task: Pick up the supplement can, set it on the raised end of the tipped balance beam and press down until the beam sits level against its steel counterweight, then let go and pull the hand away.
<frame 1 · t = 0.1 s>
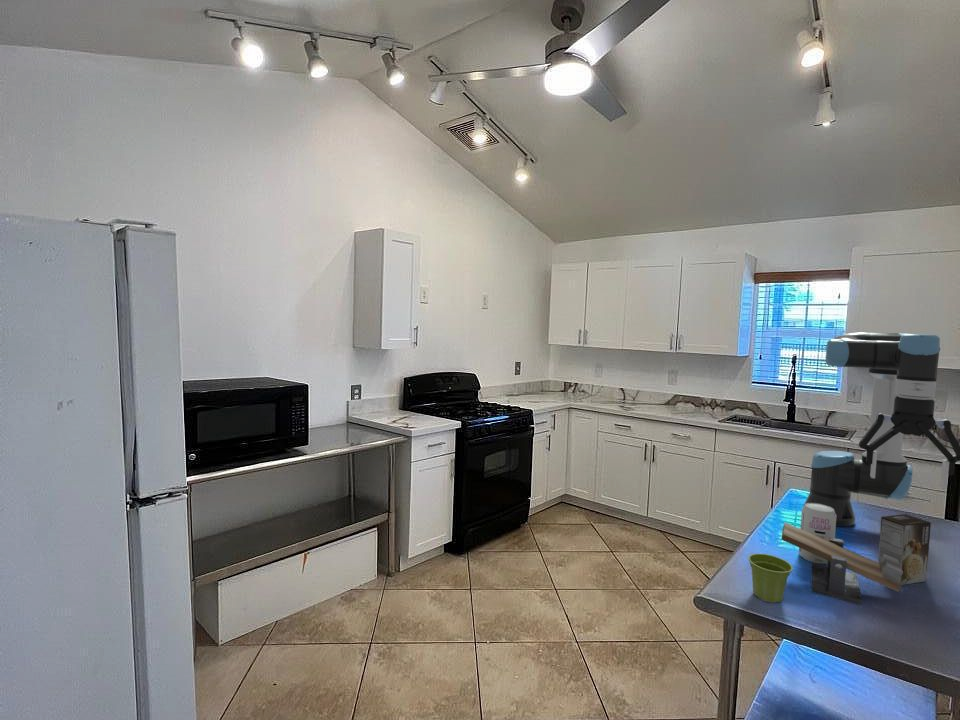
hand: (906, 482, 126), 28 cm above the table, tool pointing down, fingers open, 13 cm apart
supplement can: (815, 559, 145), on the table
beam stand: (834, 584, 131), on the table
plant pot: (767, 597, 124), on the table
coffee box: (900, 578, 135), on the table
balance beam: (839, 549, 130), point 9 cm above the table, hinge at -15.0°
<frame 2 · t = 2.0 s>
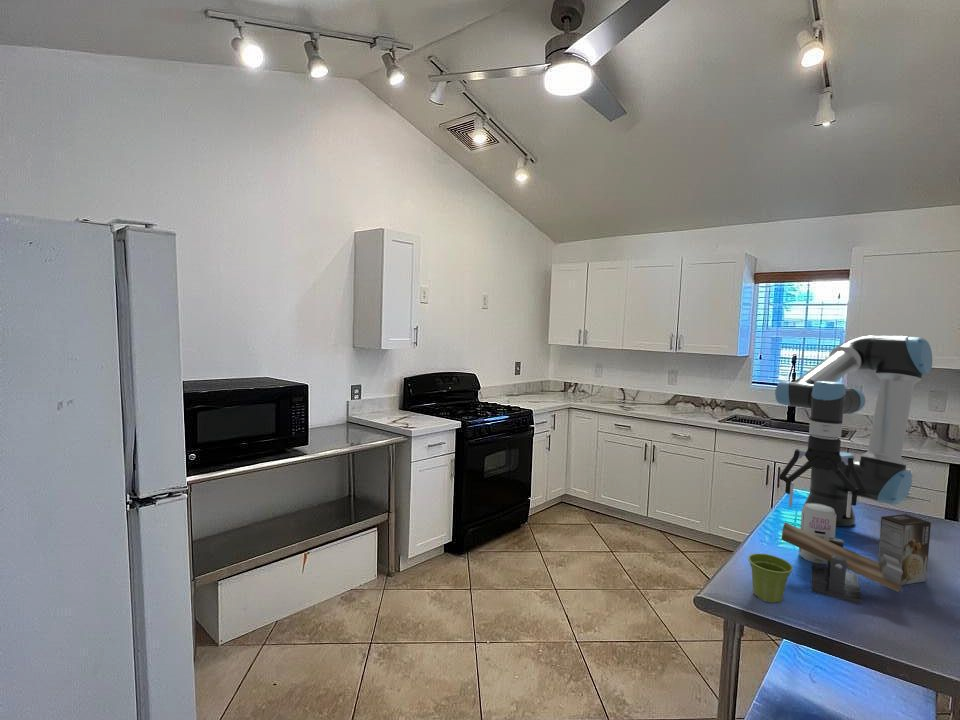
hand: (818, 510, 144), 14 cm above the table, tool pointing down, fingers open, 13 cm apart
nothing on the table moved.
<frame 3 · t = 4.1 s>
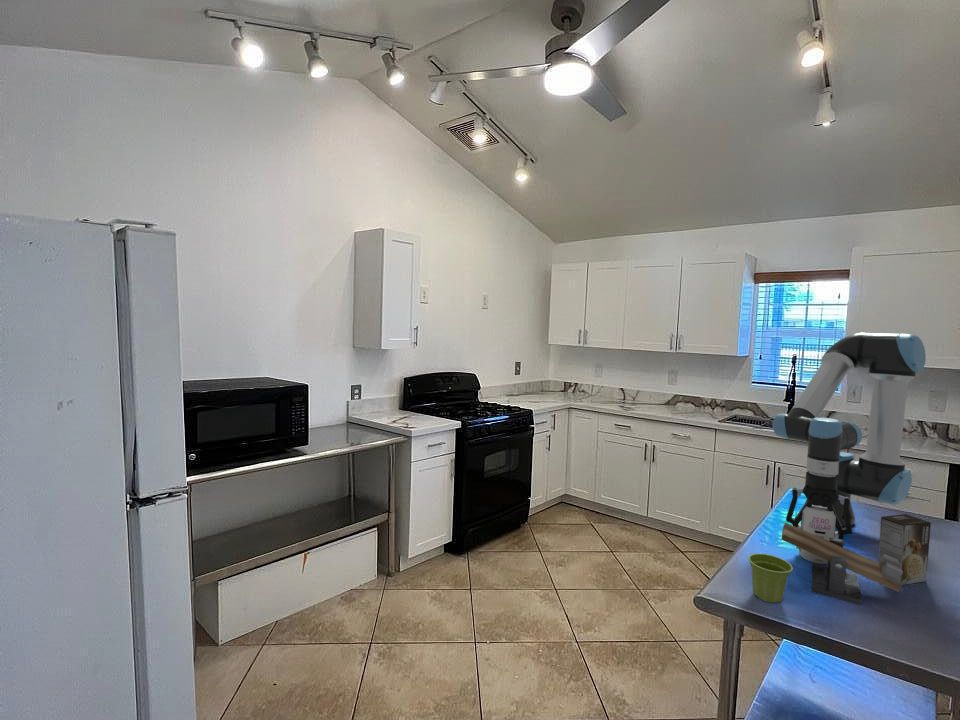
hand: (816, 551, 145), 2 cm above the table, tool pointing down, fingers closed on supplement can, 8 cm apart
supplement can: (815, 559, 145), on the table, touching gripper
everything else where it was.
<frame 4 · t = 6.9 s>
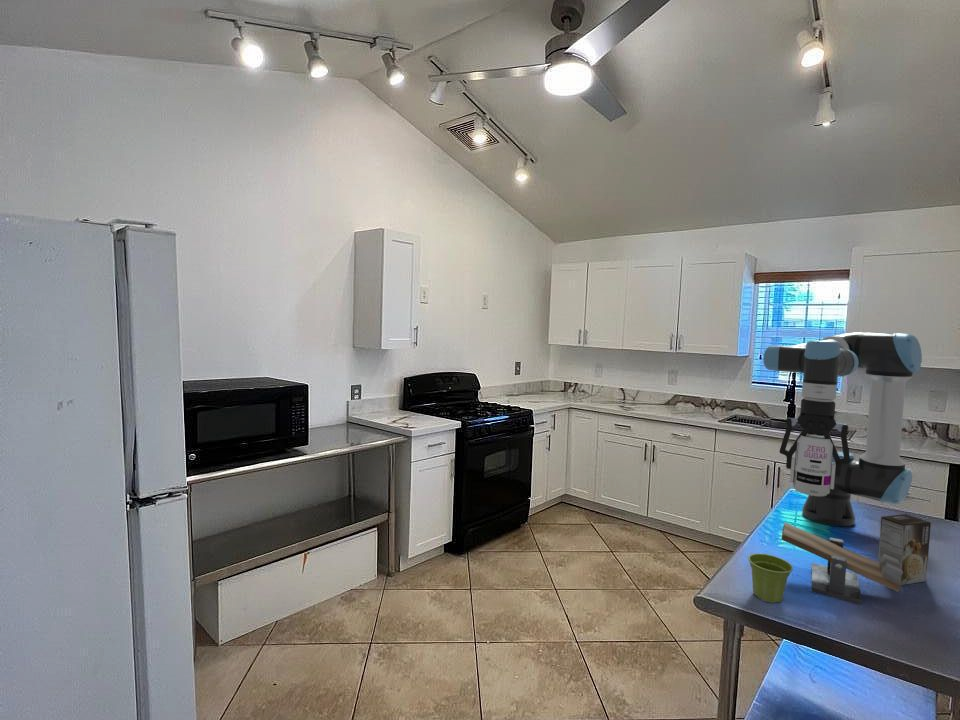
hand: (811, 484, 135), 24 cm above the table, tool pointing down, fingers closed on supplement can, 8 cm apart
supplement can: (810, 492, 135), point 22 cm above the table, touching gripper
everything else where it was.
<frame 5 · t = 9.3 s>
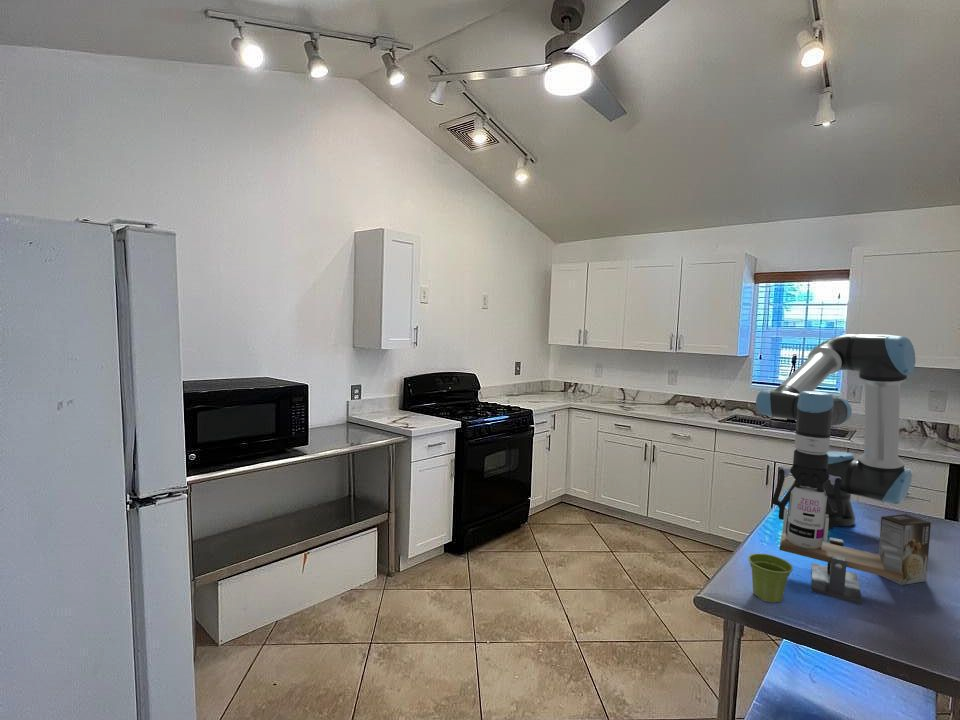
hand: (804, 536, 134), 11 cm above the table, tool pointing down, fingers closed on supplement can, 8 cm apart
supplement can: (803, 543, 134), point 9 cm above the table, touching balance beam, gripper
balance beam: (837, 548, 130), point 9 cm above the table, hinge at -1.8°, touching supplement can
everything else where it was.
when the fingers open (11 cm above the table, at t = 10.1 s): supplement can stays where it is, resting on balance beam.
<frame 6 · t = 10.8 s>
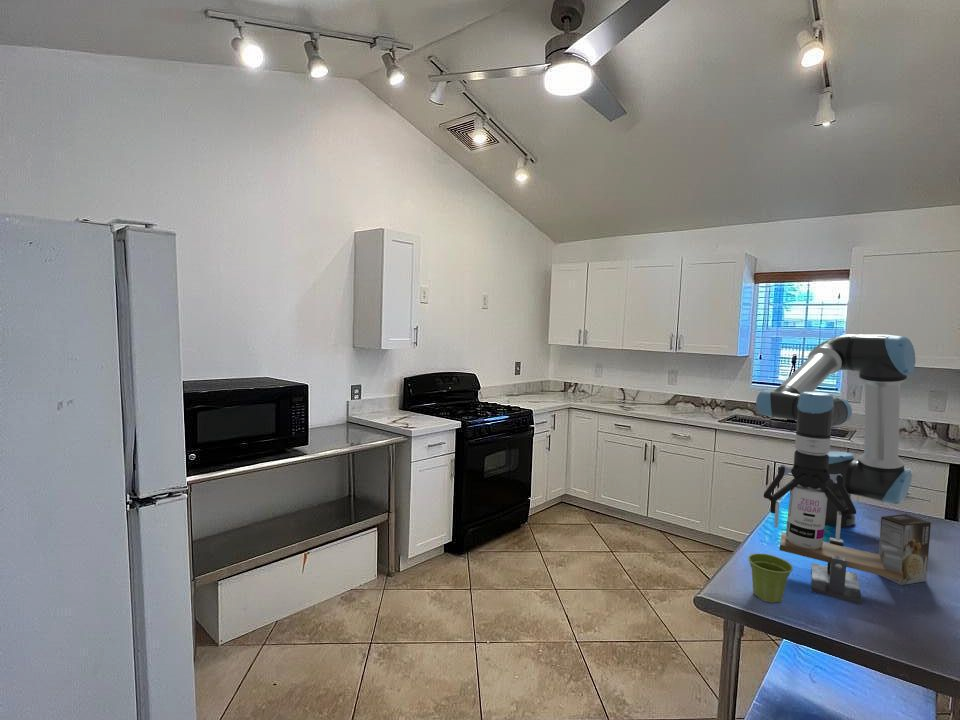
hand: (805, 531, 133), 12 cm above the table, tool pointing down, fingers open, 13 cm apart
supplement can: (803, 544, 134), point 9 cm above the table, touching balance beam
balance beam: (837, 548, 130), point 9 cm above the table, hinge at -1.5°, touching supplement can
everything else where it was.
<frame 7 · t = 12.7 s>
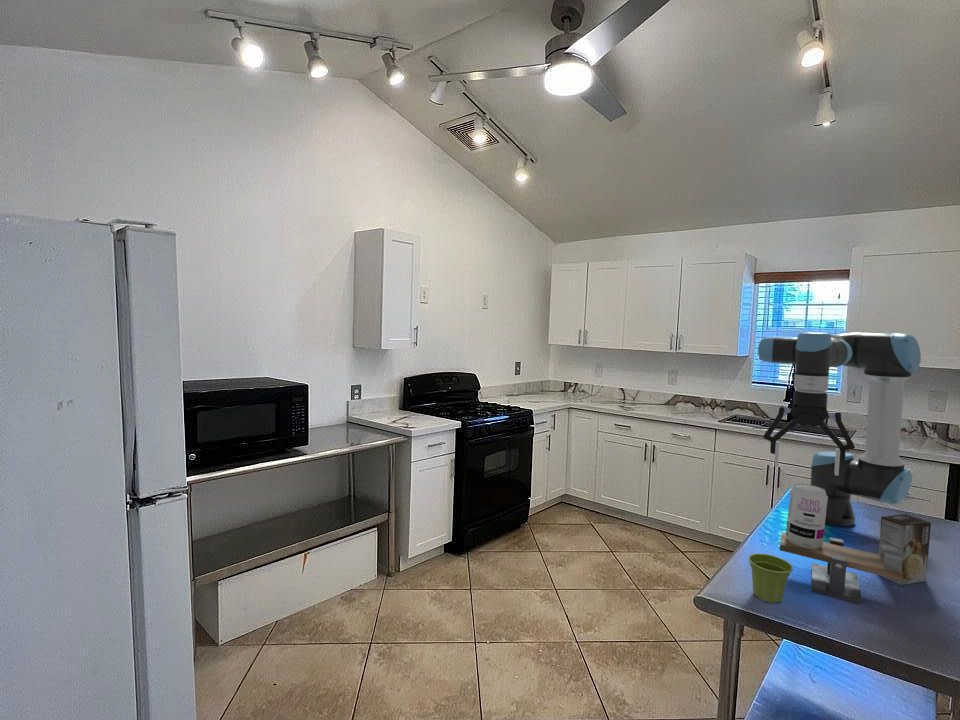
hand: (805, 470, 136), 28 cm above the table, tool pointing down, fingers open, 13 cm apart
nothing on the table moved.
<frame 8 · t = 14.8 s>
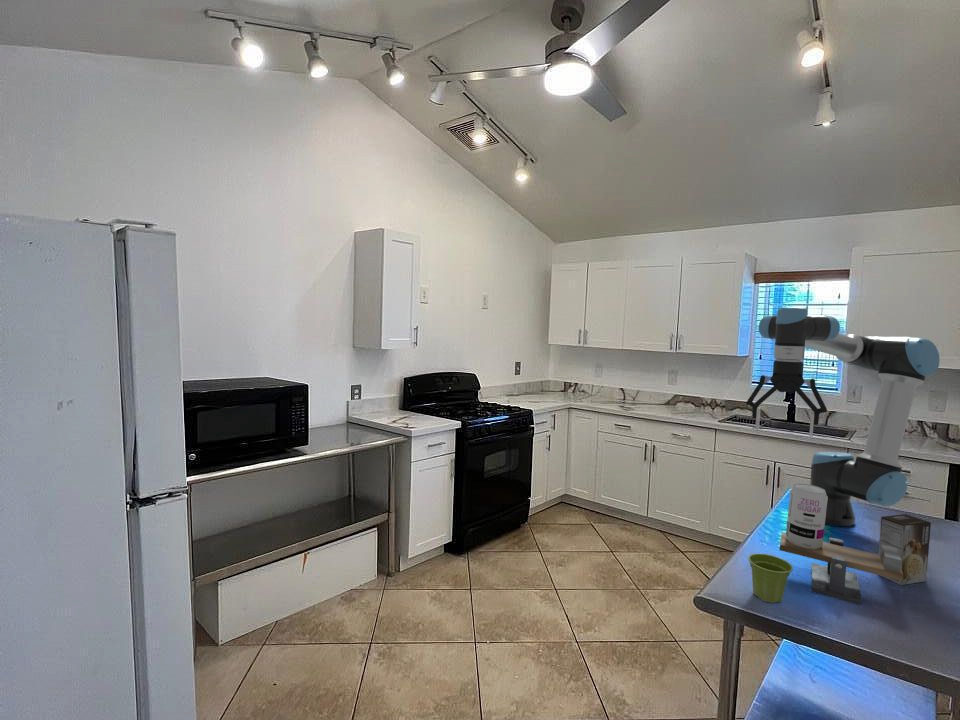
hand: (783, 432, 150), 35 cm above the table, tool pointing down, fingers open, 13 cm apart
nothing on the table moved.
at the end: balance beam at -2° (first picture: -15°); supplement can inside the target area on the balance beam (0.6 cm from its centre), point 0.7 cm above the balance beam's base; supplement can tilted 1° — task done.
